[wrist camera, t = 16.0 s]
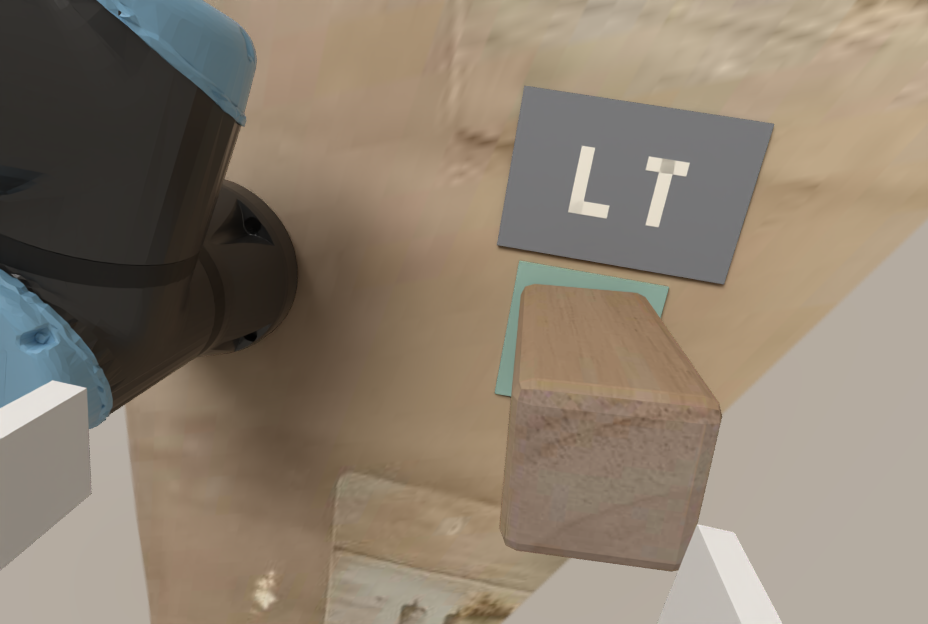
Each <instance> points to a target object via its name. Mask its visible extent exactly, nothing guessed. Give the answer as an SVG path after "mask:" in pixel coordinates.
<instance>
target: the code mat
mask: <svg viewBox="0 0 928 624" xmlns="http://www.w3.org/2000/svg"><path fill="white" fill-rule="evenodd" d="M773 127H774V124H772V123H766V122H759V121H752V120H746V119H739V118H733V117H726V116H720V115H713V114H707V113H700V112H693V111H687V110H680V109H674V108H667V107H661V106H654V105H648V104H641V103H634V102H628V101H621V100H615V99H608V98H602V97H595V96H589V95H582V94H575V93H569V92H562V91H556V90H549V89H543V88H536V87H530V86H524V91H523V97H522V103H521V109H520V115H519V120H518V126H517V132H516V138H515V144H514V150H513V155H512V161H511V167H510V173H509V179H508V184H507V190H506V196H505V202H504V208H503V213H502V219H501V225H500V231H499V237H498V242H497V245H500V246H506V247H512V248H518V249H523V250H529V251H535V252H541V253H546V254H552V255H558V256H564V257H569V258H575V259H581V260H587V261H592V262H598V263H604V264H610V265H616V266H621V267H627V268H633V269H639V270H644V271H650V272H656V273H662V274H667V275H673V276H679V277H685V278H690V279H696V280H702V281H708V282H714V283H719V284H724V282H725V279H726V276H727V273H728V270H729V267H730V263H731V260H732V257H733V254H734V251H735V248H736V244H737V241H738V238H739V235H740V232H741V228H742V225H743V222H744V219H745V216H746V213H747V209H748V206H749V203H750V200H751V197H752V193H753V190H754V187H755V184H756V181H757V178H758V174H759V171H760V168H761V165H762V162H763V158H764V155H765V152H766V149H767V146H768V143H769V139H770V136H771V133H772V130H773Z"/></svg>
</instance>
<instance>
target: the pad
mask: <svg viewBox="0 0 928 624" xmlns="http://www.w3.org/2000/svg"><path fill="white" fill-rule="evenodd" d="M532 284H543V285H554V286H565V287H577V288H588V289H599V290H611V291H622V292H633V293H638V294H640V295H642V296H644V297H646V298H647V300H648V301H649V303H650V304H651V306H652V307H653V309H654V310H655V311H656V313H657V314H658V316H659V317H660V318H661V314H662V310H663V307H664V303H665V300H666V296H667V293H668V289H669V287H668V286H663V285H657V284H651V283H645V282H640V281H634V280H628V279H623V278H617V277H611V276H605V275H600V274H594V273H588V272H583V271H577V270H571V269H565V268H560V267H554V266H548V265H543V264H537V263H531V262H525V261H520V260H519V266H518V271H517V276H516V282H515V287H514V292H513V298H512V303H511V308H510V314H509V319H508V324H507V330H506V335H505V340H504V346H503V351H502V356H501V362H500V367H499V372H498V378H497V383H496V389H495V393H496V394H501V395H506V396H511V392H512V381H513V371H514V360H515V350H516V339H517V329H518V318H519V308H520V297H521V293H522V291H523V290H524V288H525V286H529V285H532Z"/></svg>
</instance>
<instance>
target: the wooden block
mask: <svg viewBox="0 0 928 624" xmlns="http://www.w3.org/2000/svg"><path fill="white" fill-rule="evenodd" d="M721 419H722V414H721V410H720V406H719V402H718V401H717V399H716V398H715V396H714V395H713V394H712V392H711V391H710V389H709V388H708V386H707V385H706V383H705V382H704V381H703V379H702V378H701V376H700V375H699V373H698V372H697V370H696V369H695V368H694V366H693V365H692V363H691V362H690V360H689V359H688V357H687V356H686V355H685V353H684V352H683V350H682V349H681V347H680V346H679V345H678V343H677V342H676V340H675V339H674V337H673V336H672V334H671V333H670V332H669V330H668V329H667V327H666V326H665V324H664V323H663V321H662V320H661V319H660V317H659V316H658V314H657V313H656V311H655V310H654V309H653V307H652V306H651V304H650V303H649V301H648V300H647V298H646V297H644V296H642V295H640V294H638V293H633V292H622V291H611V290H599V289H588V288H577V287H565V286H554V285H543V284H532V285H529V286H525V288H524V290H523V291H522V293H521V297H520V308H519V318H518V329H517V339H516V350H515V360H514V371H513V381H512V392H511V403H510V414H509V426H508V437H507V448H506V459H505V470H504V481H503V492H502V503H501V514H500V525H499V528H500V531H501V534H502V536H503V539H504V542H505V545H506V546H508V547H510V548H512V549H515V550H517V551H525V552H532V553H539V554H547V555H554V556H561V557H569V558H576V559H584V560H591V561H599V562H606V563H613V564H620V565H629V566H636V567H643V568H650V569H657V570H665V571H676V570H679V568H680V565H681V563H682V560H683V558H684V555H685V553H686V550H687V548H688V545H689V543H690V540H691V538H692V536H693V533H694V531H695V528H696V526H697V523H698V519H699V515H700V510H701V506H702V501H703V497H704V493H705V488H706V484H707V480H708V476H709V471H710V467H711V463H712V458H713V454H714V450H715V445H716V441H717V436H718V432H719V427H720V423H721Z"/></svg>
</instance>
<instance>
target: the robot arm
mask: <svg viewBox="0 0 928 624" xmlns="http://www.w3.org/2000/svg"><path fill="white" fill-rule="evenodd" d="M256 63H257V57H256V51H255V47H254V45H253V42H252V40H251V38H250V37H249V35H248V34H247V33H246V31H245V30H244V29H243V28H242V27H241V26H240V25H239V24H238V23H237V22H235V21H234V20H233V19H231V18H229V17H228V16H226V15H225V14H223V13H222V12H220V11H219V10H217V9H215V8H214V7H212V6H211V5H209V4H208V3H206V2H204V1H203V0H0V570H2V569H3V568H4V567H5V566H6V565H7V564H9V563H10V562H11V561H12V560H14V559H15V558H16V557H17V556H18V555H19V554H20V553H22V552H23V551H24V550H25V549H27V548H28V547H29V546H30V545H31V544H33V543H34V542H35V541H36V540H37V539H38V538H40V537H41V536H42V535H43V534H44V533H45V532H47V531H48V530H49V529H50V528H51V527H53V526H54V525H55V524H56V523H57V522H58V521H60V520H61V519H62V518H63V517H65V516H66V515H67V514H68V513H69V512H70V511H71V510H73V509H74V508H75V507H76V506H77V505H79V504H80V503H81V502H82V501H84V500H85V499H86V498H87V497H88V496H89V495H91V471H90V450H89V449H90V448H89V429H91V428H94V427H96V426H98V425H99V424H100V423H102V422H103V421H105V420H106V417H108V416H109V415H110V414H111V413H113V412H114V411H115V410H117V409H119V408H120V407H121V406H123V405H125V404H126V403H128V402H129V401H131V400H132V399H134V398H135V397H137V396H138V395H140V394H141V393H143V392H144V391H146V390H147V389H149V388H150V387H152V386H153V385H155V384H156V383H158V382H159V381H161V380H162V379H164V378H165V377H167V376H169V375H170V374H172V373H173V372H175V371H176V370H178V369H179V368H181V367H182V366H184V365H185V364H187V363H188V362H190V361H191V360H193V359H194V358H196V357H203V356H210V355H218V354H226V353H232V352H236V351H239V350H242V349H245V348H247V347H249V346H251V345H253V344H255V343H257V342H258V341H260V340H261V339H262V338H264V337H265V336H267V335H268V334H269V333H271V332H272V331H273V330H274V329H275V328H277V327H278V325H279V324H280V323H281V322H282V321H283V320H284V318H285V317H286V315H287V314H288V312H289V310H290V308H291V306H292V303H293V300H294V297H295V293H296V288H297V263H296V257H295V253H294V249H293V246H292V243H291V241H290V238H289V236H288V234H287V232H286V230H285V228H284V226H283V225H282V223H281V222H280V220H279V219H278V217H277V216H276V215H275V213H274V212H273V211H272V210H271V209H270V208H269V207H268V206H267V205H266V204H265V203H264V202H263V201H262V200H261V199H260V198H259V197H257V196H256V195H255V194H253V193H252V192H251V191H249V190H247V189H246V188H244V187H242V186H240V185H238V184H236V183H234V182H231V181H228V180H225V179H224V178H225V175H226V172H227V169H228V166H229V162H230V159H231V156H232V153H233V150H234V147H235V144H236V141H237V138H238V134H239V131H240V128H241V126H243V127H244V126H245V124H246V116H245V114H244V112H245V108H246V104H247V100H248V97H249V93H250V89H251V85H252V81H253V77H254V73H255V69H256ZM657 624H782V622H781V620H780V618H779V616H778V614H777V612H776V611H775V609H774V607H773V605H772V603H771V601H770V599H769V597H768V595H767V593H766V592H765V590H764V588H763V586H762V584H761V582H760V580H759V578H758V577H757V575H756V573H755V571H754V569H753V567H752V565H751V563H750V561H749V559H748V557H747V556H746V554H745V552H744V550H743V548H742V546H741V544H740V542H739V541H738V539H737V537H736V535H735V533H734V532H730V531H726V530H721V529H717V528H712V527H708V526H703V525H699V524H697V526H696V528H695V531H694V533H693V536H692V538H691V540H690V543H689V545H688V548H687V550H686V553H685V555H684V558H683V560H682V563H681V565H680V568H679V570H678V573H677V575H676V578H675V580H674V583H673V585H672V587H671V590H670V592H669V595H668V597H667V600H666V602H665V605H664V607H663V610H662V612H661V615H660V617H659V620H658V622H657Z"/></svg>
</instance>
